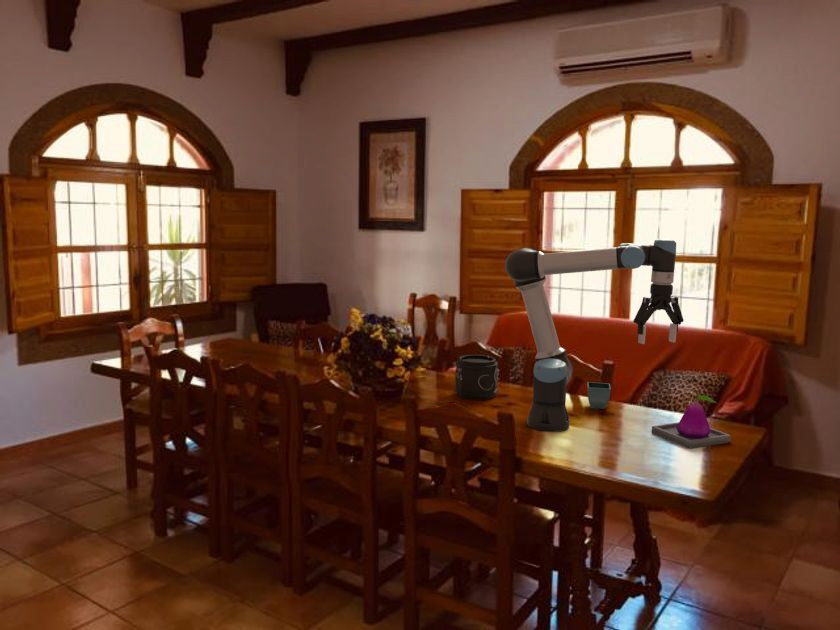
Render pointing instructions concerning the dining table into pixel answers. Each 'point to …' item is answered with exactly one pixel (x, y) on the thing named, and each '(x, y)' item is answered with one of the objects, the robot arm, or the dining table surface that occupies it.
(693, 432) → the pear
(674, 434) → the grey square tray
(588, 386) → the flower pot
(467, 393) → the dark grey canister
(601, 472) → the dining table surface
